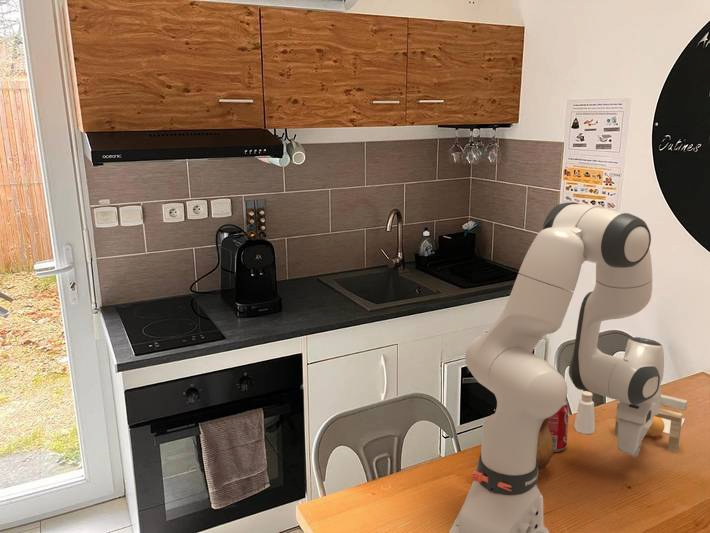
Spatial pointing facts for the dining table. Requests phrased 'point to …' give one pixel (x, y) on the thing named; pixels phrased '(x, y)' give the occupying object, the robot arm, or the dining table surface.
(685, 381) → the dining table surface
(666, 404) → the wooden block bar
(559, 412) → the soda can
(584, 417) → the salt shaker
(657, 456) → the dining table surface
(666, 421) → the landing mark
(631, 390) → the robot arm
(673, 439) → the bridge
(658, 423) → the ball
